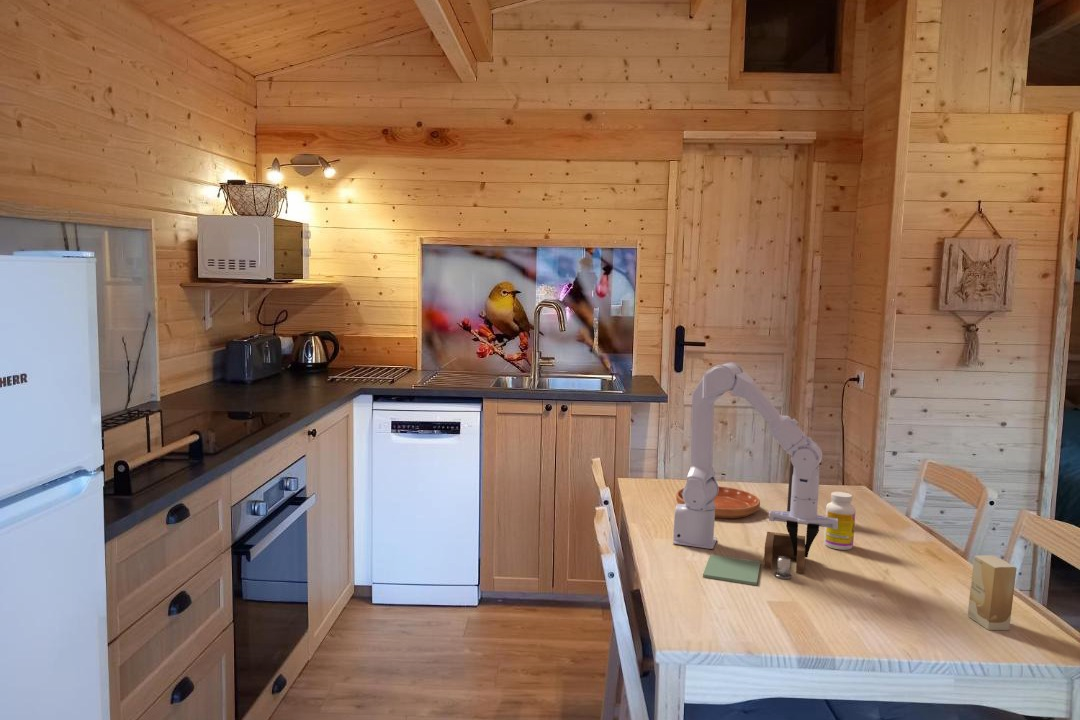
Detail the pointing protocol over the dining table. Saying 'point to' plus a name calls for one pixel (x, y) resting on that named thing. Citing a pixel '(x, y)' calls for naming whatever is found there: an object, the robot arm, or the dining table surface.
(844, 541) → the supplement bottle
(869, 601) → the dining table surface
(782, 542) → the walnut C-link
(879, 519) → the dining table surface
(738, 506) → the saucer
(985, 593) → the skincare box
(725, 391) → the robot arm
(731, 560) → the green rubber mat
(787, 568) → the metal door knob
